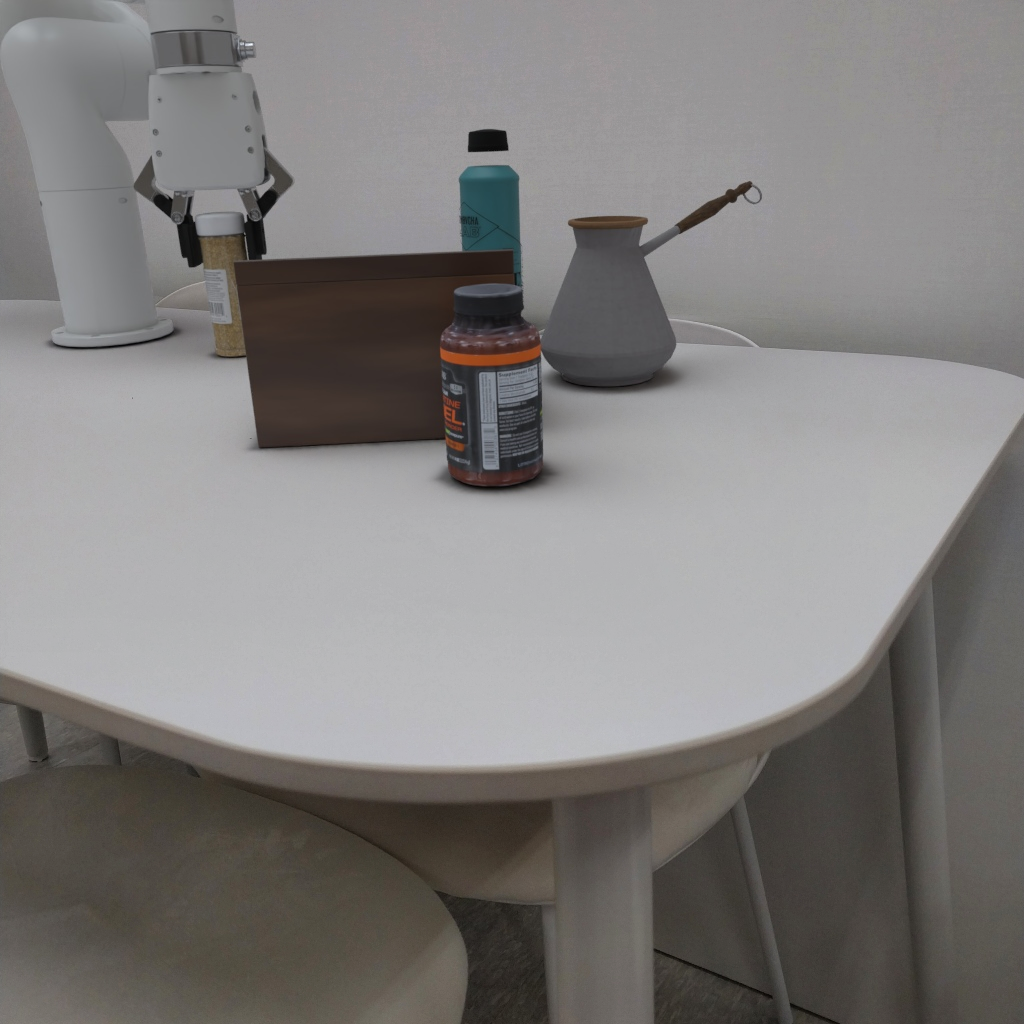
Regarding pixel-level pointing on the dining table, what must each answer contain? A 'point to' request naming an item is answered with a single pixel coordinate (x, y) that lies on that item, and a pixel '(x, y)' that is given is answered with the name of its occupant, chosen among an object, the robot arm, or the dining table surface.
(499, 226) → the beverage bottle
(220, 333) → the spice jar
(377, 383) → the shelf
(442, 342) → the supplement bottle
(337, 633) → the dining table surface
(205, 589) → the dining table surface
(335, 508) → the dining table surface
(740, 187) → the coffee pot
